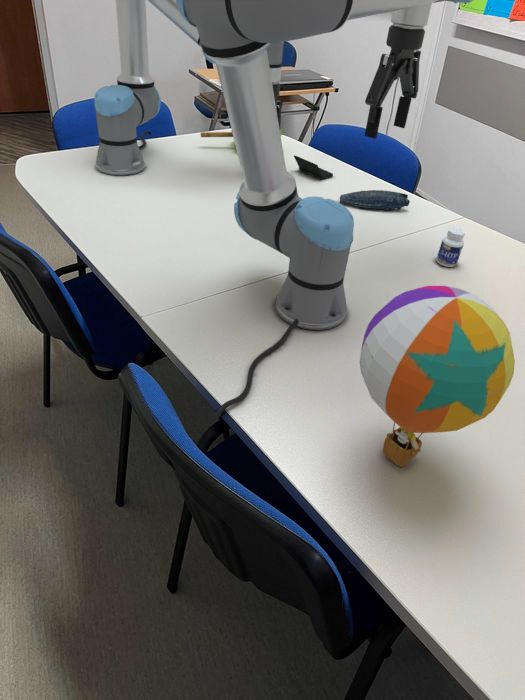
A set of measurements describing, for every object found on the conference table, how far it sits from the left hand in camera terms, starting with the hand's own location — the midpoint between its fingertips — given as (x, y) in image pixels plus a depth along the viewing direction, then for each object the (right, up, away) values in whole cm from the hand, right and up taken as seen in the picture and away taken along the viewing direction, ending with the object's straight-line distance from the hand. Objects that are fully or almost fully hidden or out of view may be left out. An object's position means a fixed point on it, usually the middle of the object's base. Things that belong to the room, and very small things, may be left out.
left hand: (262, 160), depth 168 cm
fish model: (+34, -17, -8) cm, 39 cm away
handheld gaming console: (+17, -1, +10) cm, 20 cm away
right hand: (+29, -10, -46) cm, 56 cm away
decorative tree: (-8, +13, +25) cm, 30 cm away
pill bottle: (+48, -39, -33) cm, 70 cm away
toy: (+22, -79, -86) cm, 118 cm away
